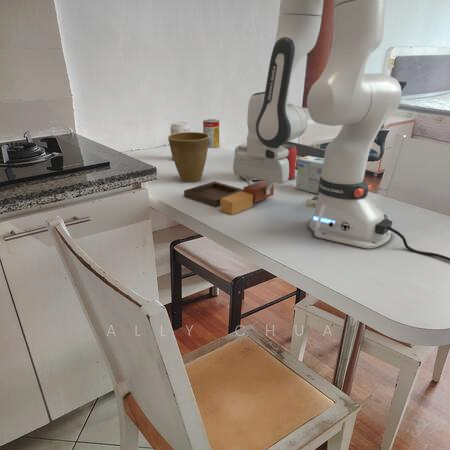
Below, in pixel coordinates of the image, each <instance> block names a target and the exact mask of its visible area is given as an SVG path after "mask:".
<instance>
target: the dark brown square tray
mask: <svg viewBox="0 0 450 450" xmlns="http://www.w3.org/2000/svg"><path fill="white" fill-rule="evenodd" d="M241 191H242V192H244V188H240V187H237V186H233V185H229V184H225V183H223V182H218V181H215V180H213V181H211V182H207V183H203V184H201V185H198V186H194V187H191V188H188V189H183V197H185V198H188V199H190V200H193V201H197V202H200V203H203V204H206V205H209V206H212V207H214V208H216V207H220V206H221V204H220V199H221V198H223V197H226V196H229V195H232V194H235V193H238V192H241Z"/></svg>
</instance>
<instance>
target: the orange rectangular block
mask: <svg viewBox="0 0 450 450" xmlns="http://www.w3.org/2000/svg"><path fill="white" fill-rule="evenodd" d="M220 204H221V205H220V212H222V213H225V214H229V215H235V214H237V213H240V212H243V211H245V210H247V209H250V208H253V206H254V202H253V194H249V193H246V192H242V191H241V192H238V193H235V194H232V195H229V196H226V197H223V198H221V199H220Z"/></svg>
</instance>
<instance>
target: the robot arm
mask: <svg viewBox="0 0 450 450" xmlns="http://www.w3.org/2000/svg"><path fill="white" fill-rule="evenodd" d="M324 1H325V0H280V3H279V9H278V10H279V11H278V12H279V13H278V20H277V21H278V22H277V29H276V36H275V40H274V45H273V48H272V51H271V55H270V61H269V67H268V72H267V78H266V83H265V91H260V92H256V93H253V94H251V96H250V97H249V100H248V106H247V115H246V116H247V117H246V118H247V119H246V126H247V130H248V132H247V135H246V140H247V146H242V144H239V145H238V146H236V147H235V149H234V156H233V157H234V158H233V164H232V171H233V174H234V175H237V176H241V177H242V176H246V179H245V182H246V184H247V186H249V185H251V184H254V183H253V180H251V179H253V178H255V179H259V180H258V181H266V182H267V183H266V184H268V186H267V187H266V188H265V189H264V194H266V195H268V194H270V189H271V187H272V186H273V184H274V185H275V184H279V185H282V184H285V183H287V181H289V179H288V178H289V161H288V159H287V158H286V157H287V156H288V154H289V151H288V149H286V148H284V147H283V146H281V145H283V144H287V143H289V142H292V141H293V140H295V139H297V138H299V137H301V136H302V135H303V134H305V131H306V130H307V127H308V116H307V114H306V110H304V108H302V107H301V106H299V105H298V104H297V105H296V104H294V103H291V102H289V94H290V89H291V83H292V78H293V74H294V72H295V69H296V67H297V66H298V64H299V63H300V62H301V61H302V60H303V59H304V57H306V56H307V55H308V54H309V53H310V52H311V51H312V50H313V49H314V48H315V46H316V44H317V42H318V37H319V35H320V30H321V24H322V16H323V11H324ZM333 7H334V8H333V29H332V42H331V49H330V54H329V57H328V60H327V63H326V66H325V68H324V70H323V72H322V73H321V75H320V76H319V78H318V79H317V80H316V81H315V82H314V83H313V84H312V85H311V87H310V89H309V91H308V95H307V98H306V99H307V100H306V108H307V113H308V115H309V117H310V119H311V120H312V121H313V122H314V123H316V124H319V125H325V126H331V127H337V126H341V129H340V130H339V132H338V133H337V135H336V136H335V138H333V139H332V140H330V142H329V143H328V144H327V145H326V148H325V150H324V155H323V159H324V162H323V170H322V176H321V177H320V181H319V187H318V194H317V202H316V206H315V209H314V212H313V215H312V217H311V220H310V222H309V224H308V226H309V228H310V230H312V232H313V235H314V237H316V238H319V239H324V240H328V241H331V242H332V241H333V242H336V243H340V244H344V245H350V246H352V247H353V246H354V247H358V248H362V249H375V248H379V247H381V246H383V245H384V244H386V243H387V242H388V241H389V240H390V239H391V236H392V233H394V234H395V235H397V236H398V237H400V238H401V240H402V242H403V245H404V247H405V248H406V249H407V250H408V251H410V252H412V253H416V254H420V255H424V256H431V257H436V258H438V259H439V258H440V259H443V260H445V261H448V262H450V257H448V256H446V255H443V254H439V253H437V252H428V251H421V250H418V249H414V248H412V247H411V246H410V245H409V244H408V242H407V239H406V237H405V236H404V235H403V234H402V233H401V232H399V231H398V230H396V229H394V228H393V227H392V225H393V221H392V220H389V219H386V218H385V215H384V212H383V211H382V210H381V209H380V208H379V207H378V206H377V205H376V204H375V202H374V201H373V200H372V199H371V197H369V196H368V194H369V190H371V189H372V186H373V185H372V184H369V185H368V184H367V183H366V181H365V175H366V169H367V164H368V159H369V156H370V152H371V149H372V147H373V144H374V142H375V140H376V138H377V137H378V134H379V132H380V131H381V129H382V127H383V125H384V124H385V123H386V122H387V120H388V119H389V118H390V117H391V116H392V115H394V113H396V111H397V110H398V108H399V107H400V104H401V101H402V95H403V94H402V93H403V92H402V86H401V84H400V82H399V80H398V79H397V78H395V77H394V76H390V75H387V74H383V73H379V72H378V73H377V72H376V73H365V69H366V65H367V62H368V60H369V58H370V56H371V54H372V53H373V52H374V51H376V50H377V49H378V48H379V47H380V45H381V44H382V41H383V38H384V28H385V13H386V11H385V10H386V0H334V6H333Z"/></svg>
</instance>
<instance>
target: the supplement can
mask: <svg viewBox="0 0 450 450" xmlns="http://www.w3.org/2000/svg"><path fill="white" fill-rule="evenodd" d="M169 130H170V135H172V134H176V133H184V132H191V131H190V125H189V123H188V122H186V121H175V122H172V123H171V125H170V129H169ZM171 158H172V159H173V156H172V155H171Z"/></svg>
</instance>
